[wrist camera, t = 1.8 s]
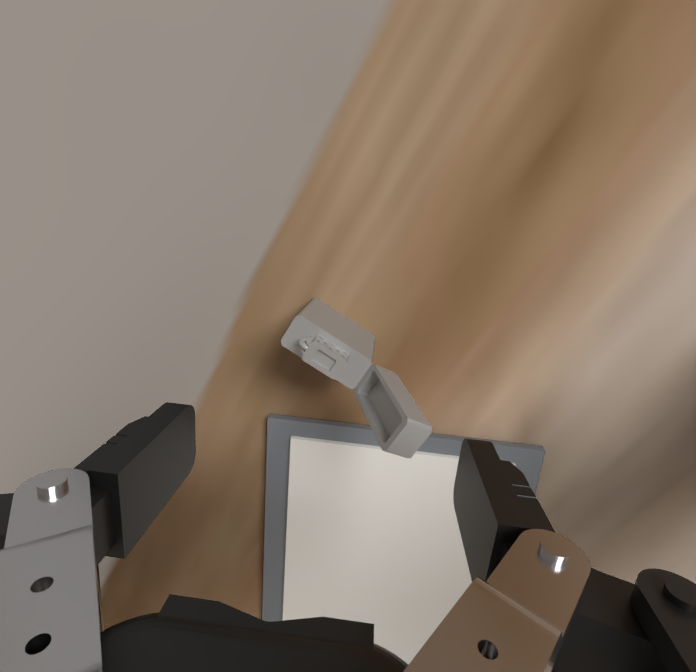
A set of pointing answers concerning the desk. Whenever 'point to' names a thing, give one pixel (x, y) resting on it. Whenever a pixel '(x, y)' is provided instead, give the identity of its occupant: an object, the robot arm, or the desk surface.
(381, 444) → the lighter
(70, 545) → the robot arm
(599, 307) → the desk surface
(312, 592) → the clipboard
